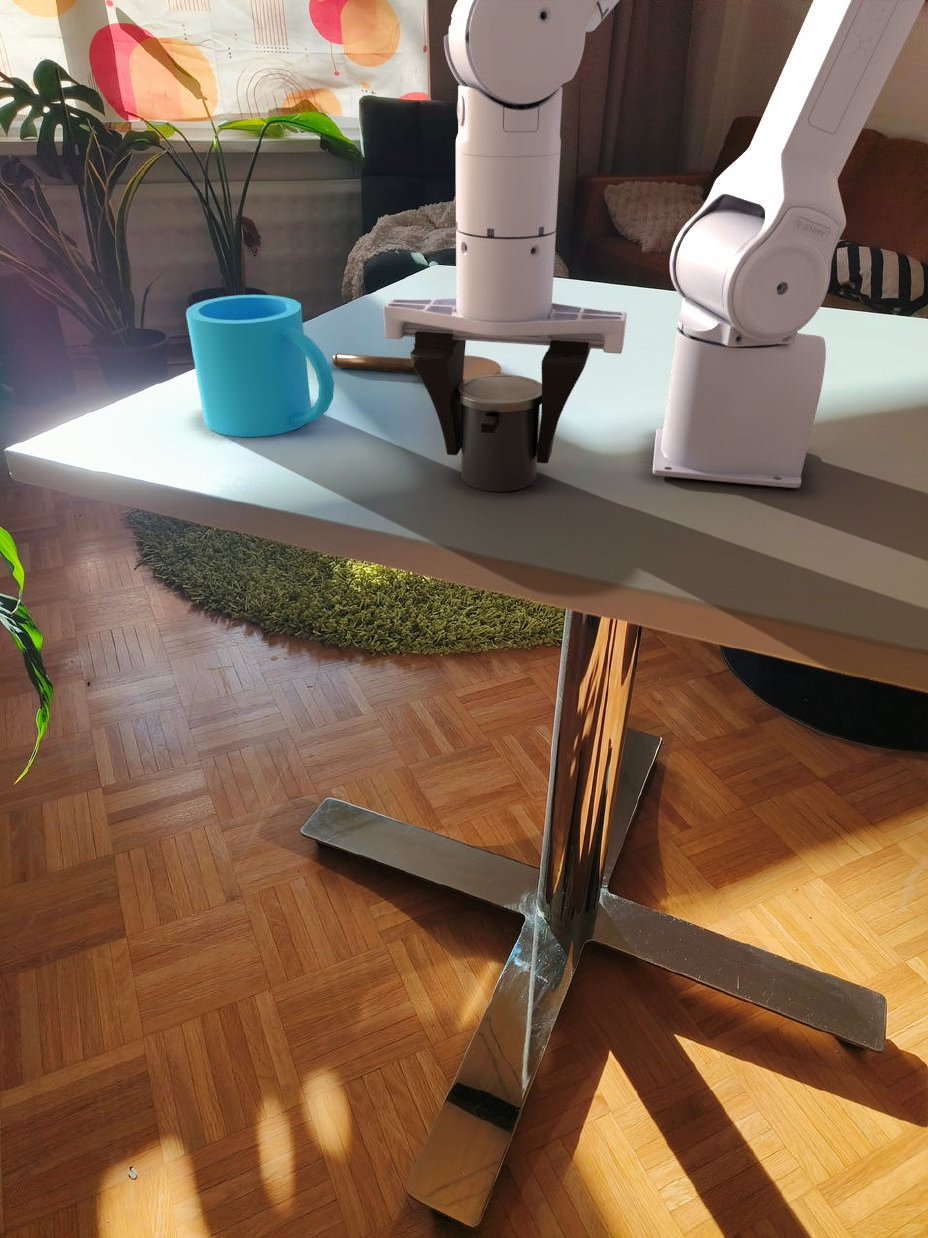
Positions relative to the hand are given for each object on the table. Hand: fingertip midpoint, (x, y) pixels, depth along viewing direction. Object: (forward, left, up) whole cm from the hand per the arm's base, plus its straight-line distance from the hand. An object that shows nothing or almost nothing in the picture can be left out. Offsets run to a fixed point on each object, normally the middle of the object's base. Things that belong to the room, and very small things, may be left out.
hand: (499, 453), depth 57 cm
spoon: (+11, -20, -2) cm, 23 cm away
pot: (0, 0, -2) cm, 2 cm away
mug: (+18, -6, -2) cm, 19 cm away
